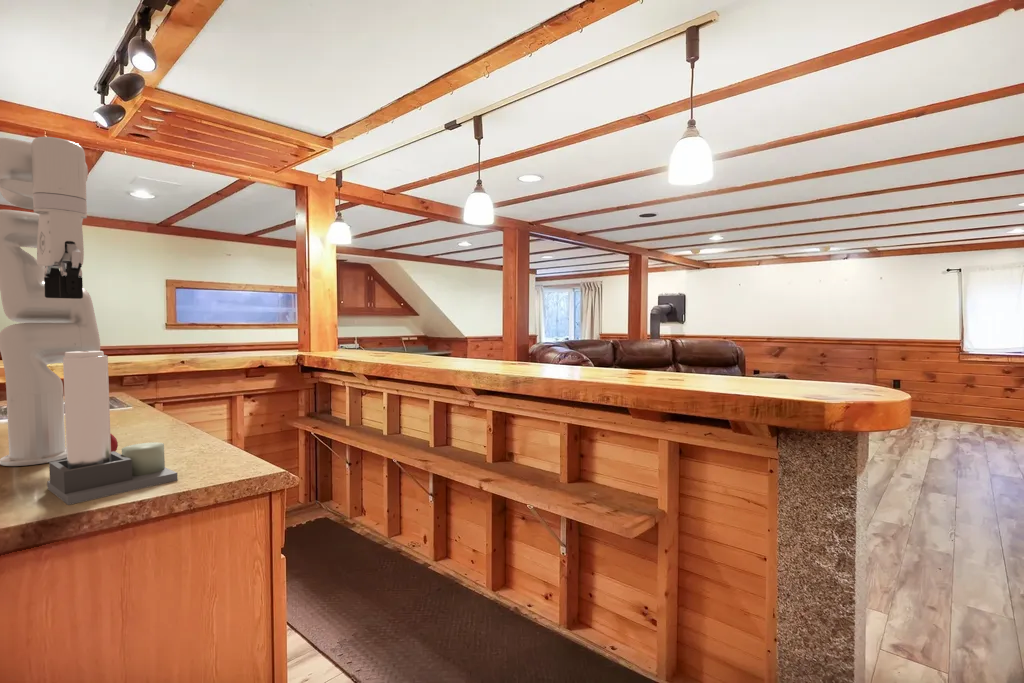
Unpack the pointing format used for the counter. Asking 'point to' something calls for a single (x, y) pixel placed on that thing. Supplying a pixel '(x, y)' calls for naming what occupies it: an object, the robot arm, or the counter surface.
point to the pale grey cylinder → (87, 408)
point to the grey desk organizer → (111, 474)
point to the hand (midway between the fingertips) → (63, 298)
